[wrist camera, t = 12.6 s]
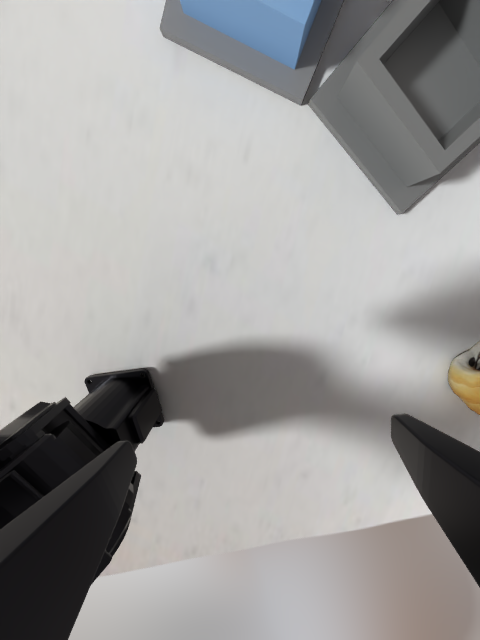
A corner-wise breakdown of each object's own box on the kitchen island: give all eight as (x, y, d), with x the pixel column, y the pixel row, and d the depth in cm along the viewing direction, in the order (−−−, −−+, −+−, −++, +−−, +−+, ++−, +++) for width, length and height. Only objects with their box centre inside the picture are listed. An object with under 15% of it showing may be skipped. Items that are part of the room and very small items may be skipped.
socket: (397, 214, 17) (433, 205, 14) (308, 104, 16) (324, 62, 12) (530, 91, 15) (615, 43, 11) (441, -55, 13) (509, -164, 10)
